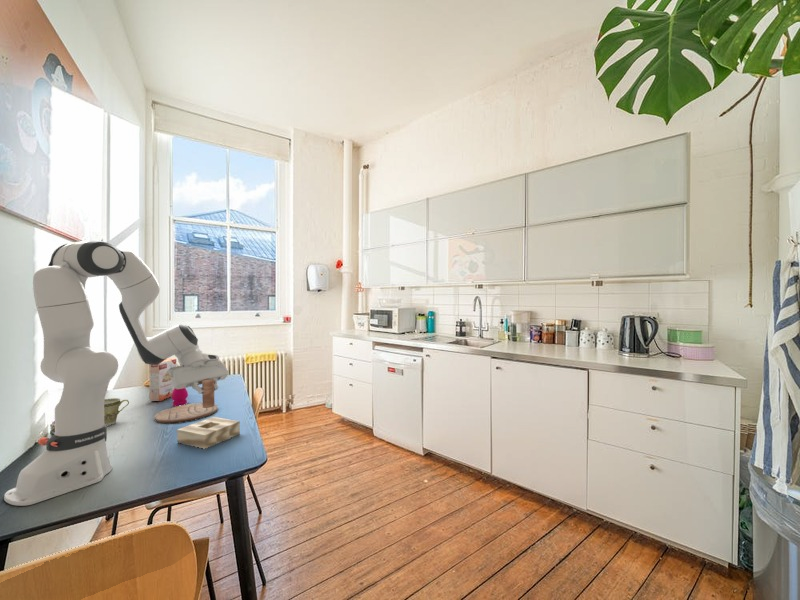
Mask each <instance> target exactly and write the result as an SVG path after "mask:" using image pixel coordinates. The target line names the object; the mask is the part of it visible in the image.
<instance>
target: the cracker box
mask: <svg viewBox="0 0 800 600" xmlns="http://www.w3.org/2000/svg"><path fill="white" fill-rule="evenodd" d="M148 366H149V370H148V371H149V372H148V374H149V380H148V381H149V383H148V384H149V386H148V387H149V388H148V389H149V402H150V401H160V402H162V401H164V399H165V400H167V399H170V398H171V396H172V393H173V390H174V386H173V384H172V381H171V377H170V376H169V374H168V370H169V369H170V368H171V367H177V359H176V358H167V359H166V360H164V361H163V362H161V363H159V364H158V365H151V364H148ZM169 397H170V398H169ZM166 398H167V399H166Z"/></svg>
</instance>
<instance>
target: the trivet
mask: <svg viewBox="0 0 800 600" xmlns="http://www.w3.org/2000/svg"><path fill="white" fill-rule="evenodd" d="M217 411H218V405H217V404H215V403H214V406H213V407H209V408H203V402H196V403H188V404H185V405H181V406H172V407H169V408H166V409H163V410H161V411H159V412H157V413H156V414H155V415H154V421H155V420H156V421H157V422H156V421H155V422H156V423H159V422H160V424H166V423H170V424H180V423H179V422H183V423H186V422H185V421H189V422H192V421H191V420H194V421H196V420H195V419H198V420H201V419H200V418H202V419H204V418H203V417H205V418H207V416H208V417H210V416H211V414H212V415H214V414H215V413H217ZM213 413H214V414H213ZM209 415H210V416H209Z"/></svg>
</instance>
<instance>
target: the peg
mask: <svg viewBox="0 0 800 600" xmlns="http://www.w3.org/2000/svg"><path fill="white" fill-rule="evenodd" d="M202 387H203V388H204V390H205V392H204V393H202V397H201V398H202V403H203V408H209V407H213V406H214V404H215V391H214V379H206V380H203V381H202V384H201V388H202Z"/></svg>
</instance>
